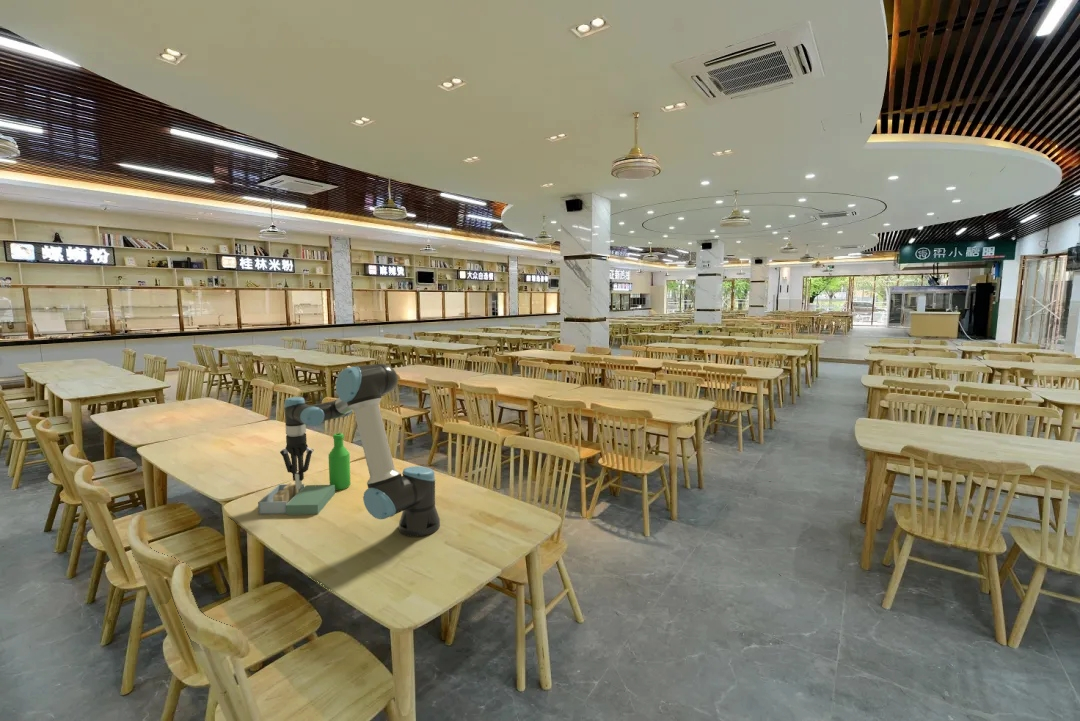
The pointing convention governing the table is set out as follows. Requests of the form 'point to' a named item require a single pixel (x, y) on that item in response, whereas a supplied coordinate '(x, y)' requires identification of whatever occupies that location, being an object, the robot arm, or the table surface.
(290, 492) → the wooden block stack
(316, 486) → the board
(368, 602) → the table surface
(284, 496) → the tile
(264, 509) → the tray
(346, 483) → the bottle
